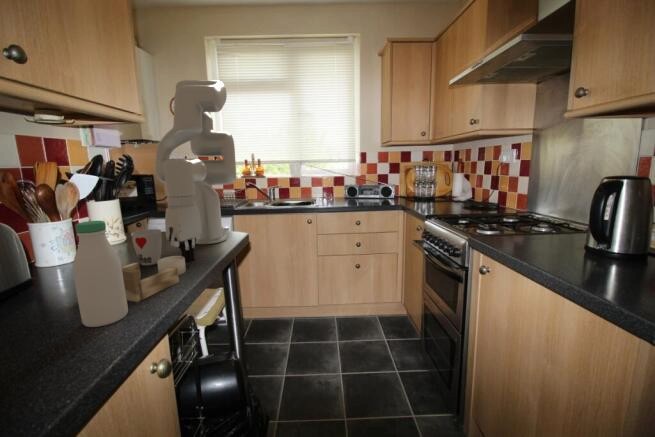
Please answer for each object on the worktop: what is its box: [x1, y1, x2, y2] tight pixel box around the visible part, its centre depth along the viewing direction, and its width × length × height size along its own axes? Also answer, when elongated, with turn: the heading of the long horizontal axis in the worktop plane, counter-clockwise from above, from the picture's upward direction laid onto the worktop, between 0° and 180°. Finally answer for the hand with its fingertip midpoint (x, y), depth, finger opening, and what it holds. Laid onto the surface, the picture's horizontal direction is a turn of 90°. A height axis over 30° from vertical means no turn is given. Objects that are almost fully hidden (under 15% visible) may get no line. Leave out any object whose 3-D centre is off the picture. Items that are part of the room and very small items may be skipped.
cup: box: [130, 228, 163, 266], centre depth 97 cm, size 8×8×10 cm
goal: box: [121, 262, 180, 303], centre depth 78 cm, size 12×15×7 cm
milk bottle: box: [72, 220, 129, 328], centre depth 61 cm, size 8×8×20 cm
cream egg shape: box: [156, 255, 187, 276], centre depth 89 cm, size 7×7×4 cm
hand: (188, 261), depth 95 cm, fingers closed
